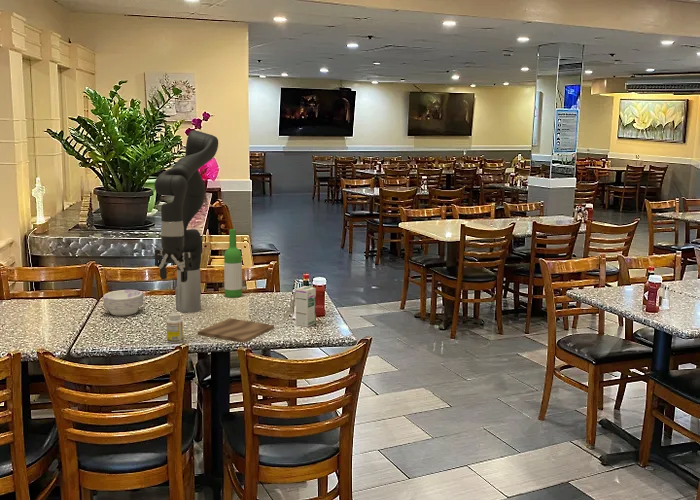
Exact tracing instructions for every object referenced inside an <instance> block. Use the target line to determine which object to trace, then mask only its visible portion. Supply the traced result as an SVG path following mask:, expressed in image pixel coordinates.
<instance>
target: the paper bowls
mask: <svg viewBox="0 0 700 500" xmlns="http://www.w3.org/2000/svg"><path fill="white" fill-rule="evenodd" d="M102 299H103V300H102V302H103V308H104V309H105V310H108V311H109V313H110V314H111V315H113V316H119V317H120V316H121V317H123V316H130V315H134V314H136V313H137V312H138V311H139V309H140V307H143V305H144V293H143V292H142V291H141V290H136V289H122V290H121V289H120V290H113V291H110V292H106V293H105V294H103V296H102Z"/></svg>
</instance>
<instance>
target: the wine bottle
mask: <svg viewBox="0 0 700 500" xmlns="http://www.w3.org/2000/svg"><path fill="white" fill-rule="evenodd" d="M228 235H229V237H228V239H229V240H228V241H229V243H228V244H229V247H228V248H227V249H226V250H225V252H224V254H223V255H224V256H223V260H224V262H223V267H224V268H223V270H224V273H223V274H224V277H223V278H224V280H223V281H224V296H225V297H227V298H239V297H242V295H243V257H242V252H241V250H240V248H238V247H237V229H235V228H234V229H233V228H231V229H229V233H228Z"/></svg>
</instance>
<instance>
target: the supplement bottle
mask: <svg viewBox="0 0 700 500" xmlns="http://www.w3.org/2000/svg"><path fill="white" fill-rule="evenodd" d="M183 325H184V324H183V319H182V318H181V314H180V313H179V312H173V313H169V314H168V319H167V320H166V335H167V336H166V338H167V342H168V343H170V344H179V343H181V342H183V340H184V335H183V334H184V331H183V330H184V326H183Z"/></svg>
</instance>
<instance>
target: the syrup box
mask: <svg viewBox="0 0 700 500" xmlns="http://www.w3.org/2000/svg"><path fill="white" fill-rule="evenodd" d="M294 294H295V297H294V298H295V307H294V308H295V326H298V327H303V328H309V327H311V326H314V325H316V324H317V322H316V321H317V314H316V313H317V305H316V303H317V299H316V298H317V288H316V287H314V286H309V285H307V286H306V285H303V286H301V287H297V288H295V293H294Z"/></svg>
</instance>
